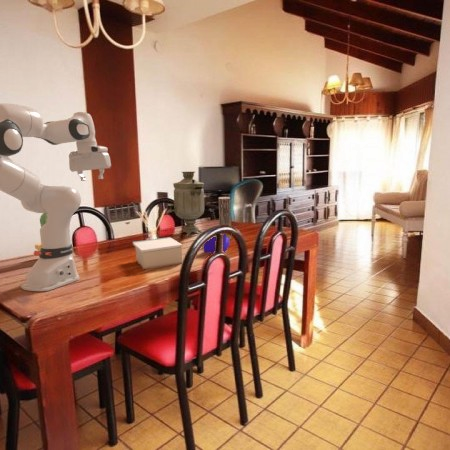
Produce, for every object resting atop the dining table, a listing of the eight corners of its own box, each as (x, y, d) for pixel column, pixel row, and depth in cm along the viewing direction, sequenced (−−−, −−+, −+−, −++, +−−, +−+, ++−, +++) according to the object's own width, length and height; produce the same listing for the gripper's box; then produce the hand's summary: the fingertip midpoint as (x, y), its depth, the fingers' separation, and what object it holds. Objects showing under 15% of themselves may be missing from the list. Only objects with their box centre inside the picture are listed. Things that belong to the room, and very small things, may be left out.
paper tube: (231, 237, 221) (230, 196, 217) (230, 240, 214) (229, 198, 210) (220, 237, 222) (219, 197, 217) (219, 240, 215) (217, 198, 211)
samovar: (163, 230, 249) (159, 172, 241) (200, 227, 256) (197, 170, 249) (170, 239, 221) (166, 173, 213) (211, 235, 228) (209, 171, 221)
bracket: (222, 254, 185) (222, 231, 183) (203, 252, 189) (202, 230, 187) (236, 245, 201) (235, 224, 199) (218, 244, 205) (217, 224, 203)
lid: (182, 246, 169) (182, 244, 169) (141, 252, 161) (141, 250, 161) (170, 239, 186) (170, 237, 186) (132, 244, 178) (132, 241, 177)
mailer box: (182, 263, 170) (181, 247, 169) (144, 269, 162) (143, 252, 161) (172, 256, 183) (171, 241, 182) (136, 261, 176) (135, 245, 174)
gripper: (63, 151, 166) (68, 182, 169) (102, 147, 161) (107, 178, 163) (72, 151, 172) (77, 181, 175) (110, 147, 167) (114, 177, 169)
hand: (92, 179), depth 169 cm, fingers open, 8 cm apart
